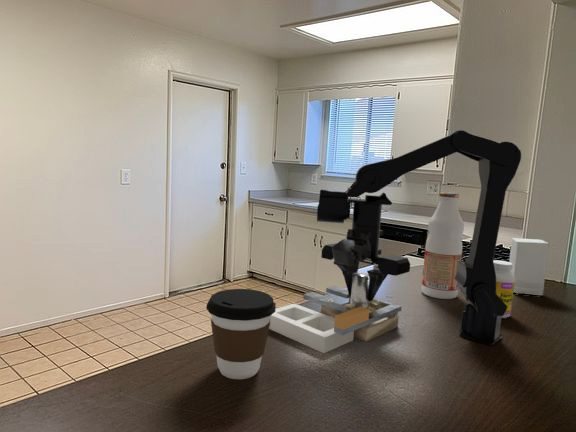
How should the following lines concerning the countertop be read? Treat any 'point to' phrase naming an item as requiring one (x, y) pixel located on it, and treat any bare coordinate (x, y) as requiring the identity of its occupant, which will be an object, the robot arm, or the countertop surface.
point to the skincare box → (528, 265)
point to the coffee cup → (240, 330)
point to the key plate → (343, 308)
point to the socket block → (371, 329)
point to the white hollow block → (308, 327)
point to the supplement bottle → (504, 284)
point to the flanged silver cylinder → (360, 292)
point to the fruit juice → (443, 249)
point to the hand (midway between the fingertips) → (360, 297)
